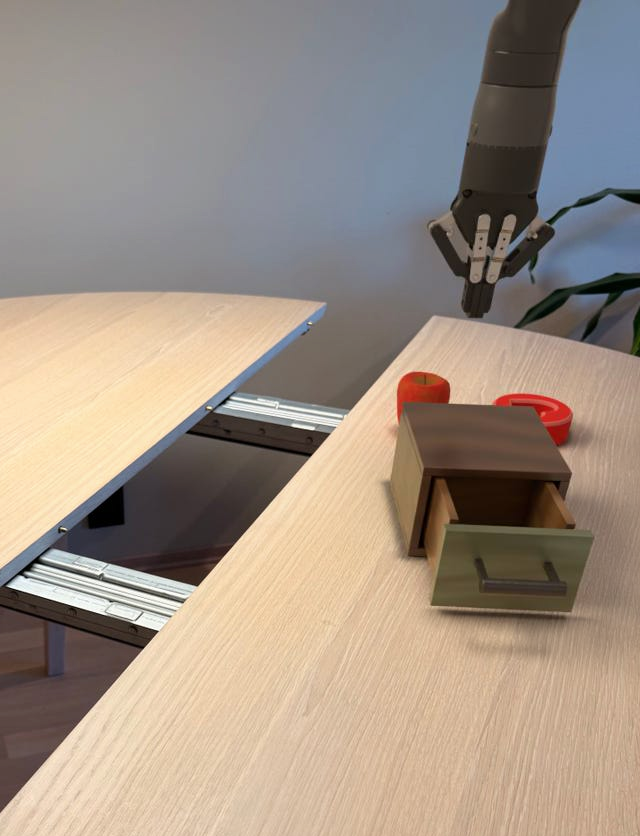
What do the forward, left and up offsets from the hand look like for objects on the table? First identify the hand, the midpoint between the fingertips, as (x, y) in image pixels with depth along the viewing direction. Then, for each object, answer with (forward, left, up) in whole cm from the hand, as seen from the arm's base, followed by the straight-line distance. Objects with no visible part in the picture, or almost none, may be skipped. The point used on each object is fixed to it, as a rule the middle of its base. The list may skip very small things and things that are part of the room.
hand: (473, 316), depth 105 cm
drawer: (0, +26, -17) cm, 31 cm away
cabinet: (0, +13, -18) cm, 22 cm away
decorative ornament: (-12, -11, -18) cm, 24 cm away
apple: (+2, -9, -18) cm, 20 cm away
